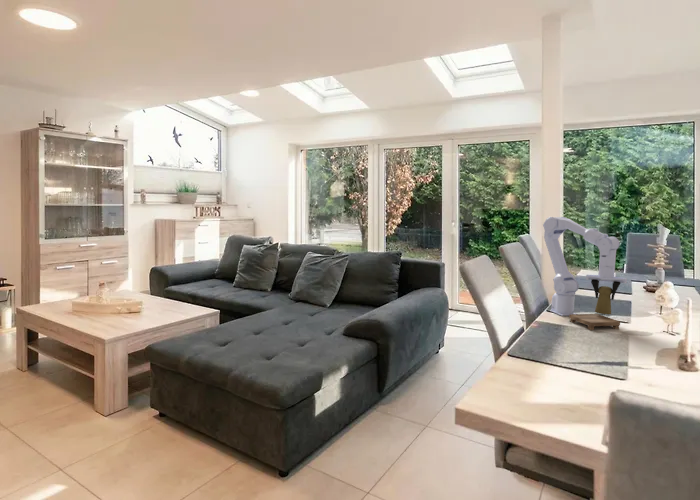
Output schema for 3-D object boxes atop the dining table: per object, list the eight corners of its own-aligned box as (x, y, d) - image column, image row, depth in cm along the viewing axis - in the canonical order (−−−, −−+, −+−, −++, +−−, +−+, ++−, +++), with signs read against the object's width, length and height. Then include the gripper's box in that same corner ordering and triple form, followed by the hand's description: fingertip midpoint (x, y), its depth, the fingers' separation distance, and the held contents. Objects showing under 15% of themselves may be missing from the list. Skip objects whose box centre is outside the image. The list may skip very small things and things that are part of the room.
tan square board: (569, 321, 188) (569, 314, 188) (596, 320, 191) (597, 313, 190) (590, 330, 176) (590, 322, 175) (619, 329, 178) (620, 321, 177)
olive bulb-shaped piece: (605, 314, 182) (608, 288, 181) (591, 311, 187) (594, 285, 186) (614, 313, 185) (617, 287, 184) (600, 310, 190) (602, 284, 189)
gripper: (585, 265, 185) (583, 297, 186) (626, 268, 177) (624, 302, 178) (588, 263, 191) (586, 295, 192) (628, 266, 182) (625, 299, 184)
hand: (604, 298), depth 186 cm, fingers closed on olive bulb-shaped piece, 5 cm apart
